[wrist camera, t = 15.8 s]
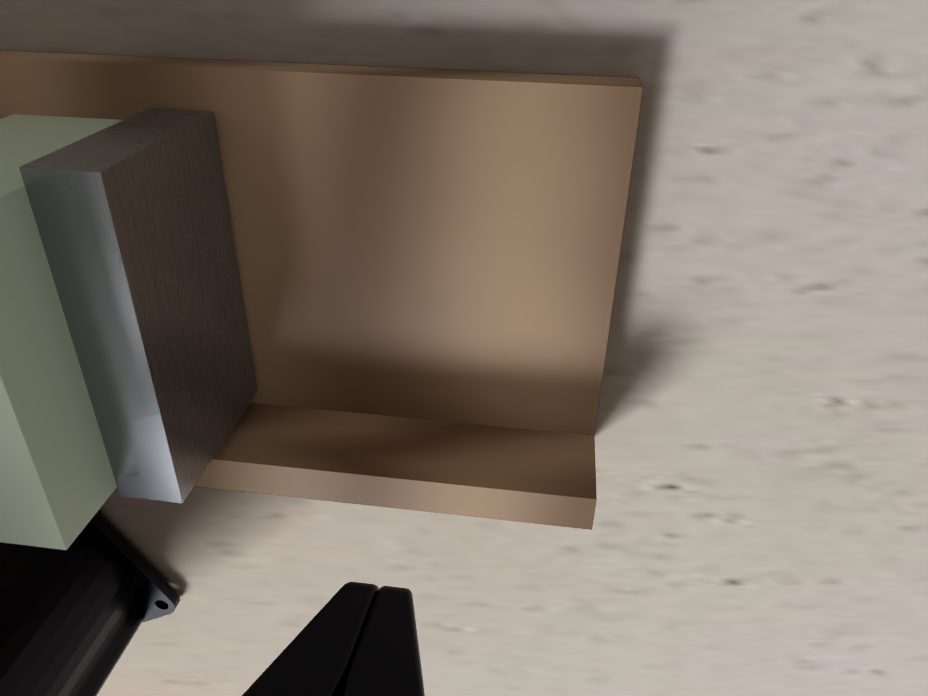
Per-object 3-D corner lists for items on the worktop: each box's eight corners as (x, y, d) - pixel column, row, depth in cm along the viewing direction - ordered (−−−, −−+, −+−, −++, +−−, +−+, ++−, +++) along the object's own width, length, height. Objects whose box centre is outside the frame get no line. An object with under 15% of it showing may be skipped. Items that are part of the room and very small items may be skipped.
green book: (154, 121, 17) (-57, 225, 11) (206, 376, 20) (66, 549, 15) (14, 114, 17) (-260, 210, 11) (89, 365, 20) (-90, 531, 15)
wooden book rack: (639, 77, 16) (669, 156, 10) (589, 441, 21) (594, 612, 16) (-329, 36, 18) (-684, 83, 13) (-159, 369, 23) (-365, 497, 18)
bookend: (213, 110, 16) (100, 172, 12) (257, 391, 20) (182, 503, 16) (150, 107, 16) (18, 167, 12) (206, 386, 20) (120, 496, 16)
